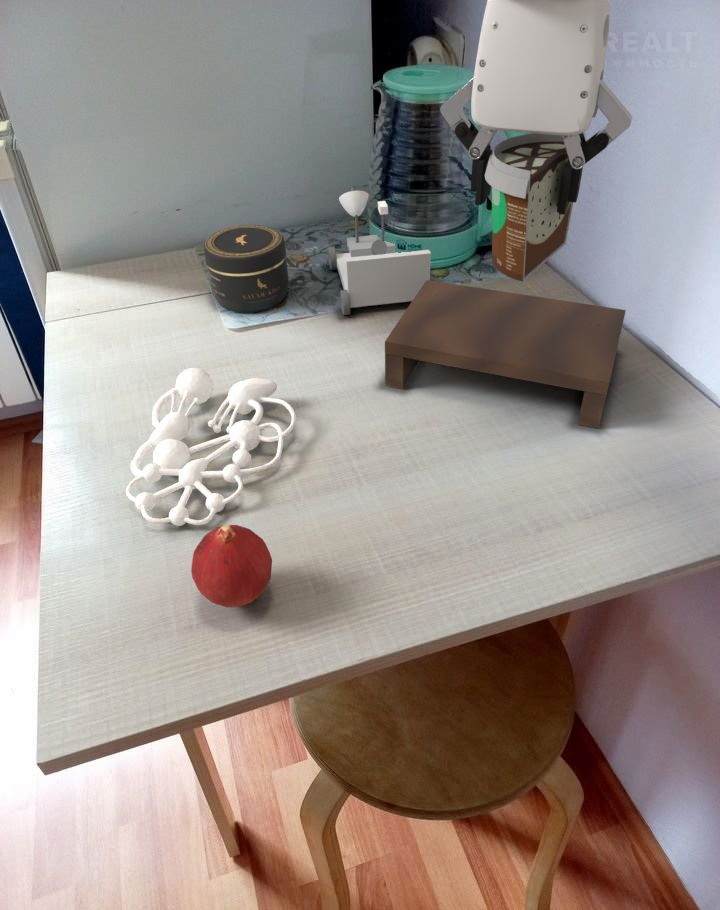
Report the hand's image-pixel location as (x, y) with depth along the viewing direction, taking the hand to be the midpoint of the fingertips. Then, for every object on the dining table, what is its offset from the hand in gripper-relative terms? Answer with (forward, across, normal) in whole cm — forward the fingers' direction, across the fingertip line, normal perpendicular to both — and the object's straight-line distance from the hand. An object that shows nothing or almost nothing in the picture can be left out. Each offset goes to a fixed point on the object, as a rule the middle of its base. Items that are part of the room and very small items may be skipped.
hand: (522, 202), depth 64 cm
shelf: (+18, 0, 0) cm, 18 cm away
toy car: (+19, +20, -15) cm, 31 cm away
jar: (+19, +34, -6) cm, 39 cm away
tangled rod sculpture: (+19, +22, +22) cm, 37 cm away
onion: (+19, +12, +37) cm, 43 cm away
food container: (+5, 0, 0) cm, 5 cm away
